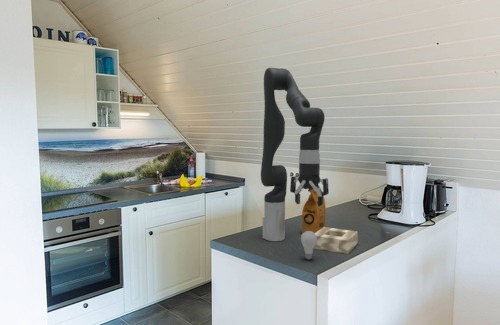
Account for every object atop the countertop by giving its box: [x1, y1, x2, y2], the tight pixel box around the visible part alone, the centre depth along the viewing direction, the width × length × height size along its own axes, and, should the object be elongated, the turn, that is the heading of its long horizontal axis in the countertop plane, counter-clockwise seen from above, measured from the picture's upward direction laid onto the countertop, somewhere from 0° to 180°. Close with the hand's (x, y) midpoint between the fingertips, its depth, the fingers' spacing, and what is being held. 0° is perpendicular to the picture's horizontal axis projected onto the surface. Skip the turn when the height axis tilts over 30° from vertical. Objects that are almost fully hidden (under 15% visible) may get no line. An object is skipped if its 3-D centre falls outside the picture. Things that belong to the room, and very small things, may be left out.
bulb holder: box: [313, 226, 359, 255], centre depth 155 cm, size 15×15×6 cm
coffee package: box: [301, 189, 327, 234], centre depth 175 cm, size 10×12×22 cm
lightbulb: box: [300, 231, 317, 261], centre depth 139 cm, size 6×6×11 cm
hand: (308, 205), depth 137 cm, fingers open, 8 cm apart
